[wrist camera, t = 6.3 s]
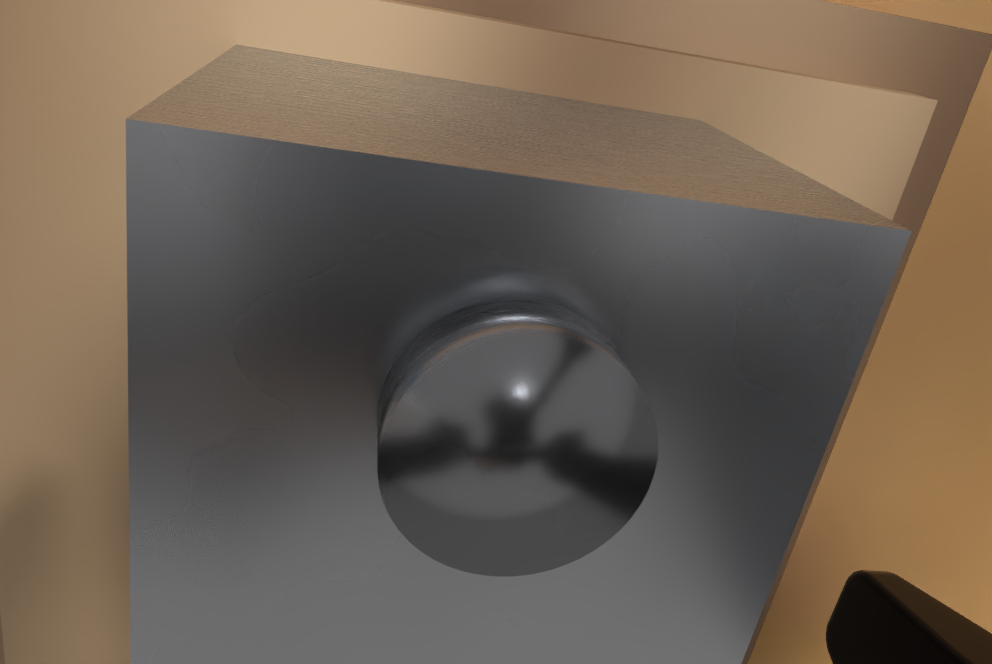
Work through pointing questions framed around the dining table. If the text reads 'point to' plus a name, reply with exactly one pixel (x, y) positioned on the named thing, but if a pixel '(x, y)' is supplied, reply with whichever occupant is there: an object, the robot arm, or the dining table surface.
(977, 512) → the dining table surface
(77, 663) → the tray
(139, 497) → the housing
